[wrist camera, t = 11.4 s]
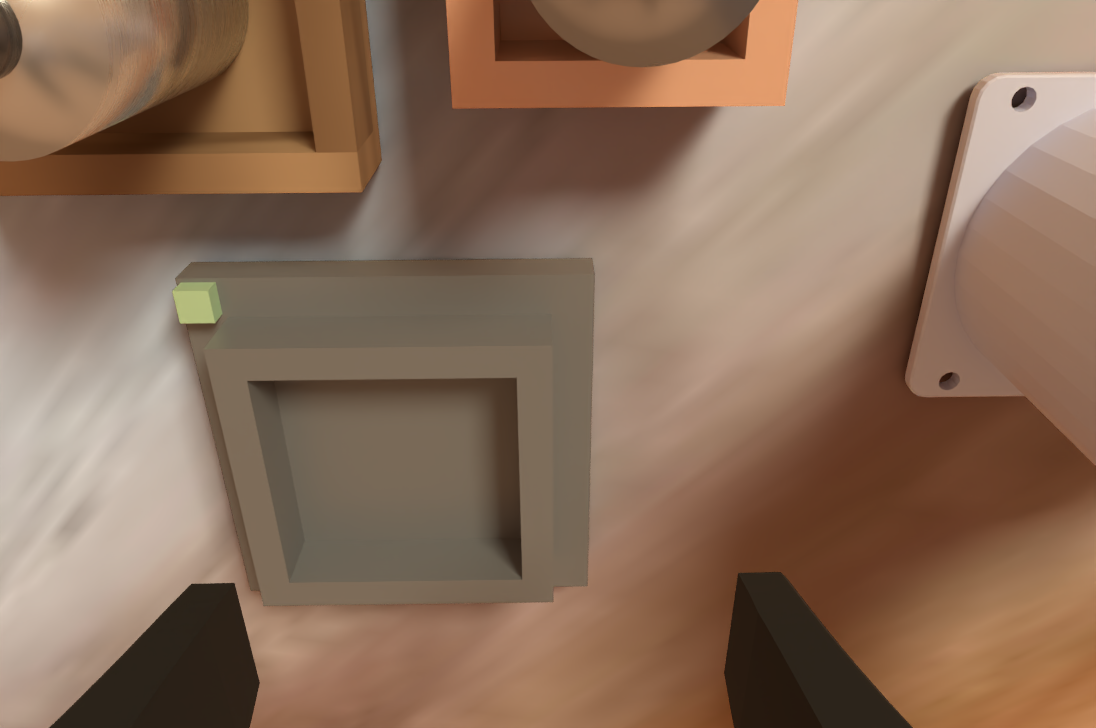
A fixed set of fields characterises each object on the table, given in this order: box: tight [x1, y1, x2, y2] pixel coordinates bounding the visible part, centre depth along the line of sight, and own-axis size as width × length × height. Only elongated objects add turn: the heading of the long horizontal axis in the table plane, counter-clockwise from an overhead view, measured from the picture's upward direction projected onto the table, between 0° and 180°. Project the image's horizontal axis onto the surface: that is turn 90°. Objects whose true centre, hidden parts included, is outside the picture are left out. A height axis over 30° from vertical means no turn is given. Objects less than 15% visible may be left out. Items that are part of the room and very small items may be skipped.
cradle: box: [172, 258, 595, 606], centre depth 21 cm, size 10×10×3 cm
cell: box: [0, 0, 249, 162], centre depth 13 cm, size 4×4×6 cm
